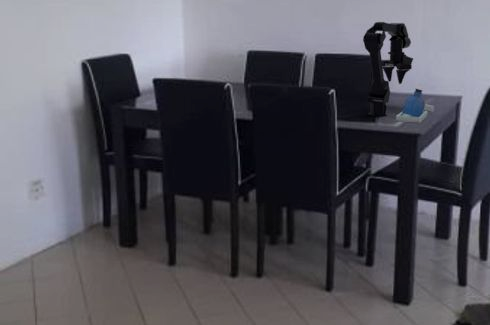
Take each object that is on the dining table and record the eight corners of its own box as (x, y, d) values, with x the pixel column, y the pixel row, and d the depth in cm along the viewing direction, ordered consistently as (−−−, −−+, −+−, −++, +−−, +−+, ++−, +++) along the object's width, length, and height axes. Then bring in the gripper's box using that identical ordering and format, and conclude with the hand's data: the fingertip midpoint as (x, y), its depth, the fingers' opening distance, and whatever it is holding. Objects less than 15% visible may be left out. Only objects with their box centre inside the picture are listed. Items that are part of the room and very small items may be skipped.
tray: (420, 122, 285) (420, 117, 285) (395, 120, 290) (396, 115, 289) (427, 116, 299) (427, 111, 299) (404, 114, 304) (404, 109, 303)
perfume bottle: (402, 112, 296) (409, 87, 294) (413, 115, 298) (420, 89, 296) (409, 115, 290) (417, 89, 288) (421, 117, 293) (428, 91, 291)
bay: (414, 113, 306) (414, 108, 305) (403, 110, 314) (403, 105, 313) (433, 111, 309) (434, 106, 308) (422, 108, 317) (422, 103, 317)
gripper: (422, 50, 304) (420, 84, 308) (400, 47, 321) (398, 79, 325) (401, 51, 300) (400, 85, 304) (380, 48, 317) (379, 80, 321)
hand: (394, 82), depth 314 cm, fingers open, 9 cm apart
